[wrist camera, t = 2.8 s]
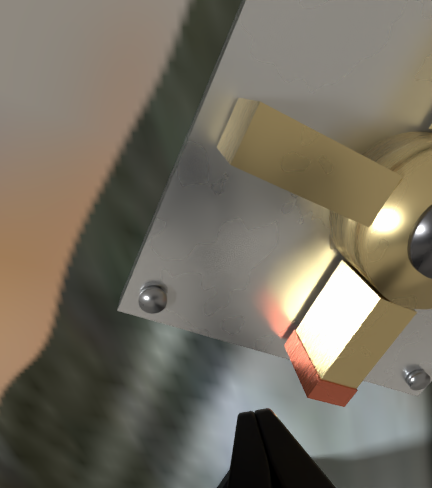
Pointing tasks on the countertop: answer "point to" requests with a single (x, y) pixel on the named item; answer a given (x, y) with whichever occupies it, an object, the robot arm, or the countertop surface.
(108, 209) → the countertop surface
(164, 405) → the countertop surface
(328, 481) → the robot arm
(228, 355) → the countertop surface
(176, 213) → the flange plate
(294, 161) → the brass cross latch
